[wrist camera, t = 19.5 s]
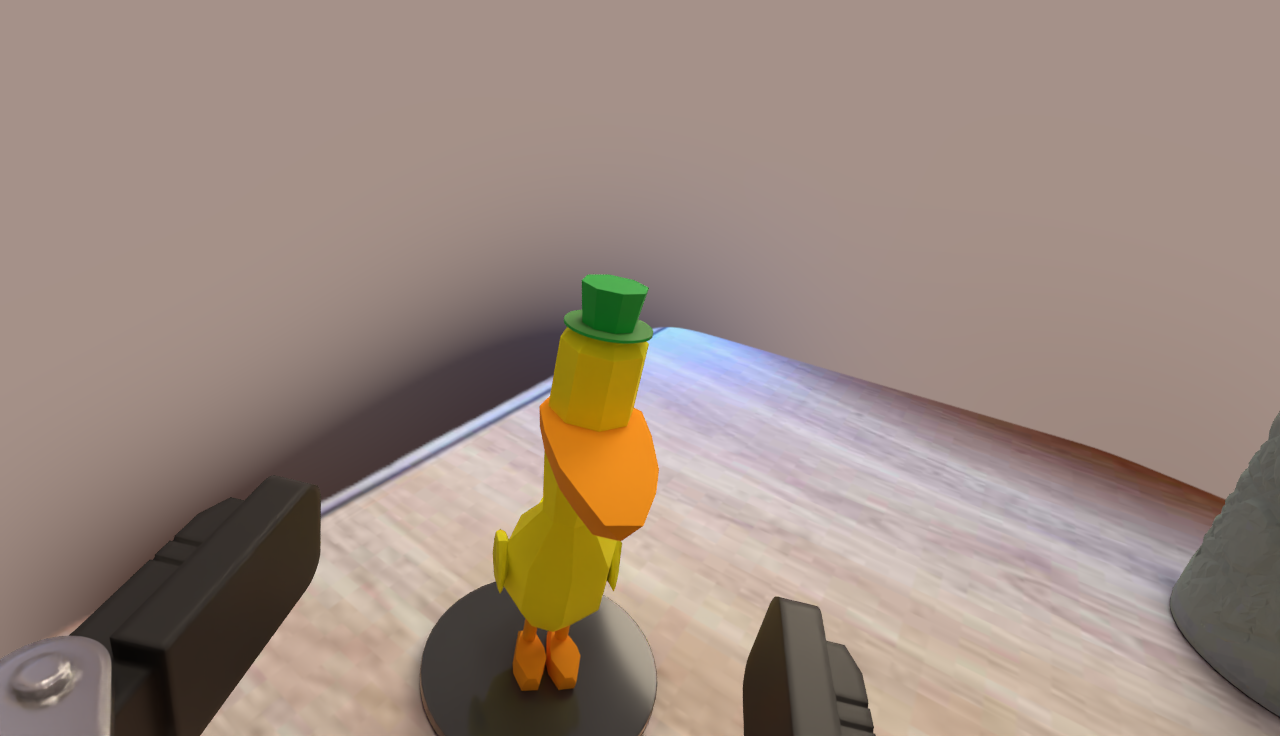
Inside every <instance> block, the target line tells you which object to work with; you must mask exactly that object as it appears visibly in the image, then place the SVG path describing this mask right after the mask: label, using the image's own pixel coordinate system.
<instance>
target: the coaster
mask: <svg viewBox="0 0 1280 736" xmlns="http://www.w3.org/2000/svg"><path fill="white" fill-rule="evenodd" d="M524 623H525V617H524V616H523V614H522V613H521V612H520V610H519V609H518V607H517V606H516V604H515V603H514V601H513V600H512V598H511V596H510V595H509V593H508V592H507V590H506V589H505V587H503V590H502V592H501V593H499V591H498V587H497V584H496V582H493V583H490V584H487V585H485V586H482V587H480V588H478V589H476V590H474V591H472V592H470V593H469V594H467V595H466V596H464V597H463V598H461V599H459V600H458V601H457V602H456V603H455V604H454V605H452V606H451V607H450V608H449V609H448V610H447V611H446V612H445V613H444V614H443V616H442V617H441V618H440V619H439V620H438V622H437V623H436V625H435V626H434V628H433V629H432V631H431V633H430V635H429V637H428V639H427V642H426V645H425V648H424V651H423V655H422V661H421V669H420V691H421V697H422V702H423V705H424V708H425V711H426V714H427V717H428V719H429V721H430V723H431V724H432V726H433V728H434V730H435V732H436V733H437V734H438V736H641V734H642V733H643V731H644V730H645V728H646V725H647V723H648V721H649V718H650V716H651V713H652V710H653V706H654V702H655V698H656V691H657V671H656V666H655V661H654V657H653V654H652V651H651V648H650V645H649V643H648V642H647V640H646V638H645V636H644V634H643V632H642V631H641V629H640V628H639V626H638V625H637V624H636V622H635V621H634V620H633V619H632V618H631V617H630V615H629V614H628V613H626V612H625V611H624V610H623V609H622V608H621V607H620V606H619V605H617V604H616V603H615V602H613V601H612V600H611V599H609V598H608V597H606V596H604V595H603V596H602V599H601V603H600V606H599V610H597V611H596V612H594V613H592V614H590V615H588V616H586V617H585V618H583V619H581V620H579V621H577V622H575V623H574V624H572V625H570V628H569V633H568V635H569V637H570V638H571V639H572V640H573V642H574V643H575V644H576V646H577V648H578V651H579V653H580V662H579V669H578V675H577V681H576V685H575V687H574V688H571V689H563V690H558V688H557V687H556V685H555V684H554V682H553V681H552V679H551V678H550V676H549V674H548V671H547V666H546V662H545V667H544V672H543V675H542V678H541V681H540V684H539V687H538V690H529V691H521V689H520V687H519V685H518V683H517V681H516V678H515V676H514V674H513V659H514V653H515V647H516V642H517V636H518V631H523V629H524ZM547 632H548V630H544V629H541V628H537V632H536V634H537V636H538V637H539V639H540V641H541V643H542V645H543V646H544V649H545V654H546V641H547Z"/></svg>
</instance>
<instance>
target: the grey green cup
mask: <svg viewBox="0 0 1280 736" xmlns="http://www.w3.org/2000/svg"><path fill="white" fill-rule="evenodd" d="M1225 503H1226V504H1225V505H1224V506H1223V508H1222V513H1221V514H1220V515H1218V516H1216V517H1215V520H1214V522H1213V524H1212V527H1211V528H1210V529H1209V531H1208V532H1207V533H1206V534H1205V536H1204V539H1203V543H1202V545H1201V546H1200V548H1199V549H1198V550H1197V551H1196V553H1195V554H1194V555H1193V557H1192V558H1191V560H1190V561H1189V563H1188V564H1187V566H1186V568H1185V569H1184V571H1183V573H1182V574H1181V576H1180V578H1179V579H1178V581H1177V583H1176V584H1175V586H1174V587H1173V590H1172V595H1171V600H1170V609H1171V612H1172V614H1173V617H1174V620H1175V622H1176V624H1177V626H1178V627H1179V629H1180V630H1181V632H1182V633H1183V635H1184V636H1185V637H1186V639H1187V640H1188V641H1189V643H1190V644H1191V645H1192V646H1193V647H1194V648H1195V650H1196V651H1197V652H1198V653H1199V654H1200V655H1201V656H1202V657H1203V658H1204V659H1205V660H1206V661H1207V662H1208V663H1209V664H1210V665H1211V666H1212V667H1213V668H1214V669H1215V670H1216V671H1218V672H1219V673H1220V674H1221V675H1222V676H1223V677H1225V678H1226V679H1227V680H1228V681H1229V682H1230V683H1232V684H1233V685H1234V686H1236V687H1237V688H1238V689H1240V690H1241V691H1242V692H1244V693H1245V694H1246V695H1248V696H1249V697H1250V698H1252V699H1253V700H1255V701H1256V702H1258V703H1259V704H1261V705H1262V706H1264V707H1265V708H1267V709H1268V710H1269V711H1271V712H1273V713H1274V714H1276V715H1278V716H1279V717H1280V412H1279V413H1278V415H1277V416H1276V418H1275V419H1274V421H1273V424H1272V426H1271V429H1270V432H1269V440H1268V441H1266V442H1265V443H1264V444H1263V445H1261V448H1260V450H1259V451H1257V452H1256V453H1255V455H1254V456H1253V458H1252V459H1251V461H1250V462H1249V467H1248V468H1247V469H1246V470H1245V471H1244V472H1243V473H1242V474H1241V476H1240V478H1239V480H1238V482H1237V485H1236V488H1235V491H1234V492H1233V493H1231V494H1230V495H1229V496H1228V497H1227V499H1226V501H1225Z"/></svg>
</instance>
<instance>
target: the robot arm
mask: <svg viewBox="0 0 1280 736" xmlns="http://www.w3.org/2000/svg"><path fill="white" fill-rule="evenodd" d="M320 527H321V494H320V489H319V487H318V486H316V485H313V484H309V483H304V482H301V481H296V480H292V479H288V478H284V477H279V476H275V475H273V476H270V477H268V478H267V479H266V480H264V481H263V482H262V483H261V484H260V486H258V488H256V490H255V491H254V492H252V494H251V495H250V496H249V497H248V498H247V499H246V500H245V501H244V500H240V499H236V498H232V497H230V498H229V499H226V500H225V501H222V502H220V503H218V504H216V505H215V506H213V507H211V508H209V509H207V510H205V511H203V512H201V513H199V514H197V515H196V516H195V517H194V518H193V519H192V520H191V521H190V522H189V523H188V524H187V525H186V526H185V527H184V528H183V529H182V530H181V531H179V532H178V533H177V534H176V535H175V537H174V540H173V541H169V542H168V543H167V544H166V545H165V546H164V547H163V548H161V550H159V551H158V552H157V553H156V554H155V558H154V559H153V560H149V561H148V562H147V563H146V564H145V565H144V566H143V567H142V568H140V569H139V570H138V571H137V572H136V573H135V574H134V575H133V576H132V577H131V578H130V579H129V580H128V581H127V582H126V583H125V584H123V585H122V586H121V587H120V588H119V589H118V590H117V591H116V592H115V593H114V594H113V595H112V596H111V597H110V598H109V599H108V600H107V601H105V603H103V604H102V605H101V606H100V607H99V608H98V609H97V610H96V611H95V612H94V613H93V614H92V615H91V616H90V617H89V618H87V619H86V620H85V621H84V622H83V623H82V624H81V625H80V626H79V627H78V628H77V629H76V630H75V631H73V632H72V633H71V634H70V635H69V636H59V637H53V638H47V639H44V640H40V641H37V642H34V643H31V644H28V645H26V646H23V647H21V648H19V649H17V650H15V651H13V652H11V653H10V654H8V655H6V656H5V657H3V658H1V659H0V736H200V735H201V734H202V732H203V731H204V730H205V728H206V727H207V725H208V724H209V723H210V721H211V720H212V719H213V717H214V716H215V714H216V713H217V712H218V710H219V709H220V708H221V706H222V705H223V703H224V702H225V701H226V699H227V698H228V697H229V695H230V694H231V692H232V691H233V690H234V688H235V687H236V686H237V684H238V683H239V681H240V680H241V679H242V677H243V676H244V675H245V673H246V672H247V670H248V669H249V668H250V666H251V665H252V664H253V662H254V661H255V659H256V658H257V657H258V655H259V654H260V653H261V651H262V650H263V648H264V647H265V646H266V644H267V643H268V642H269V640H270V639H271V637H272V636H273V635H274V633H275V632H276V631H277V629H278V628H279V626H280V625H281V624H282V622H283V621H284V620H285V618H286V617H287V615H288V614H289V613H290V611H291V610H292V609H293V607H294V606H295V604H296V603H297V602H298V600H299V599H300V598H301V596H302V595H303V593H304V592H305V591H306V589H307V588H308V586H309V584H310V583H311V581H312V579H313V577H314V574H315V572H316V569H317V566H318V562H319V558H320ZM743 716H744V736H876V735H875V734H873V729H874V726H873V722H872V717H871V712H870V709H868V699H867V694H866V689H865V685H864V680H863V675H862V673H861V671H860V669H859V668H858V666H857V665H856V663H855V661H854V660H853V658H852V656H851V655H850V653H849V652H848V650H847V648H846V647H845V645H842V644H838V643H833V642H829V641H826V638H825V632H824V626H823V620H822V614H821V611H820V609H819V607H817V606H814V605H810V604H806V603H802V602H797V601H793V600H789V599H785V598H781V597H774V598H773V600H772V601H771V603H770V605H769V608H768V610H767V613H766V615H765V618H764V620H763V622H762V625H761V627H760V630H759V632H758V635H757V637H756V640H755V642H754V644H753V647H752V649H751V652H750V654H749V657H748V660H747V664H746V668H745V674H744V681H743Z"/></svg>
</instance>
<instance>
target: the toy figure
mask: <svg viewBox="0 0 1280 736" xmlns="http://www.w3.org/2000/svg"><path fill="white" fill-rule="evenodd" d="M648 289H649V288H648V287H646V286H644V285H642V284H640V283H639V282H637V281H634V280H631V279H627V278H621V277H617V276H612V275H587V276H586V277H585V278H584V279H583V280H582V310H576V311H572V312H569V313H568V314H566V315H565V317H564V323H565V324H566V326H567V328H566V330H565V331H564V332H563V334H562V335H561V337H560V342H559V348H558V354H557V360H556V365H555V371H554V377H553V382H552V388H551V394H550V397H549V398H547V399H546V400H545V401H544V402H543V403H542V404H541V405H540V429H541V434H542V439H543V444H544V449H545V455H544V487H543V498H542V500H541V501H540V503H539V504H538V505H536V506H534V507H533V508H531V509H530V510H528V511H527V512H525V513H524V514H522V515H521V517H520V519H519V521H518V523H517V525H516V527H515V529H514V531H513V533H512V535H511V537H510V539H508V536H507V534H506V532H505V531H503V530H501V529H500V530H498V531H496V534H495V538H494V547H493V564H494V576H495V580H496V584H497V587H498V591H499V593H501V592H502V590H503V587H505V589H506V590H507V592H508V593H509V595H510V596H511V598H512V600H513V601H514V603H515V604H516V606H517V607H518V609H519V610H520V612H521V613H522V614H523V616H524V617H525V623H524V629H523V631H518V636H517V642H516V647H515V653H514V659H513V674H514V676H515V678H516V681H517V683H518V685H519V687H520V689H521V691H529V690H538V687H539V684H540V681H541V678H542V675H543V672H544V667H545V662H546V666H547V671H548V674H549V676H550V678H551V679H552V681H553V682H554V684H555V685H556V687H557V688H558V690H563V689H571V688H574V687H575V685H576V681H577V675H578V669H579V662H580V653H579V651H578V648H577V646H576V644H575V643H574V642H573V640H572V639H571V638H570V637H569V635H568V633H569V628H570V625H572V624H574V623H575V622H577V621H579V620H581V619H583V618H585V617H586V616H588V615H590V614H592V613H594V612H596V611H597V610H599V606H600V603H601V599H602V596H603V592H604V589H605V585H606V581H608V583H609V584H610V586H611V588H612V590H613V591H614V589H615V587H616V582H617V578H618V573H619V564H620V555H621V547H622V542H621V541H622V540H623V539H625V538H626V537H628V536H629V535H631V534H632V533H633V532H635V531H636V530H638V529H639V528H641V527H642V526H643V525H644V523H645V520H646V518H647V515H648V512H649V510H650V507H651V505H652V502H653V500H654V497H655V495H656V490H657V481H658V473H659V468H658V463H657V459H656V454H655V449H654V445H653V440H652V435H651V433H650V431H649V428H648V426H647V423H646V421H645V418H644V416H643V413H642V412H641V411H639V410H637V409H635V408H634V404H635V400H636V395H637V391H638V387H639V383H640V379H641V375H642V370H643V366H644V362H645V358H646V354H647V350H648V345H649V344H648V343H647V342H646V341H648V340H650V339H651V338H652V336H653V330H652V328H651V327H650V326H649V325H647V324H646V323H644V322H643V321H640V320H638V317H639V315H640V312H641V309H642V306H643V304H644V301H645V298H646V295H647V292H648ZM537 628H541V629H544V630H548V632H547V641H546V654H545V649H544V646H543V645H542V643H541V641H540V639H539V637H538V636H537V634H536V632H537Z"/></svg>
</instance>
